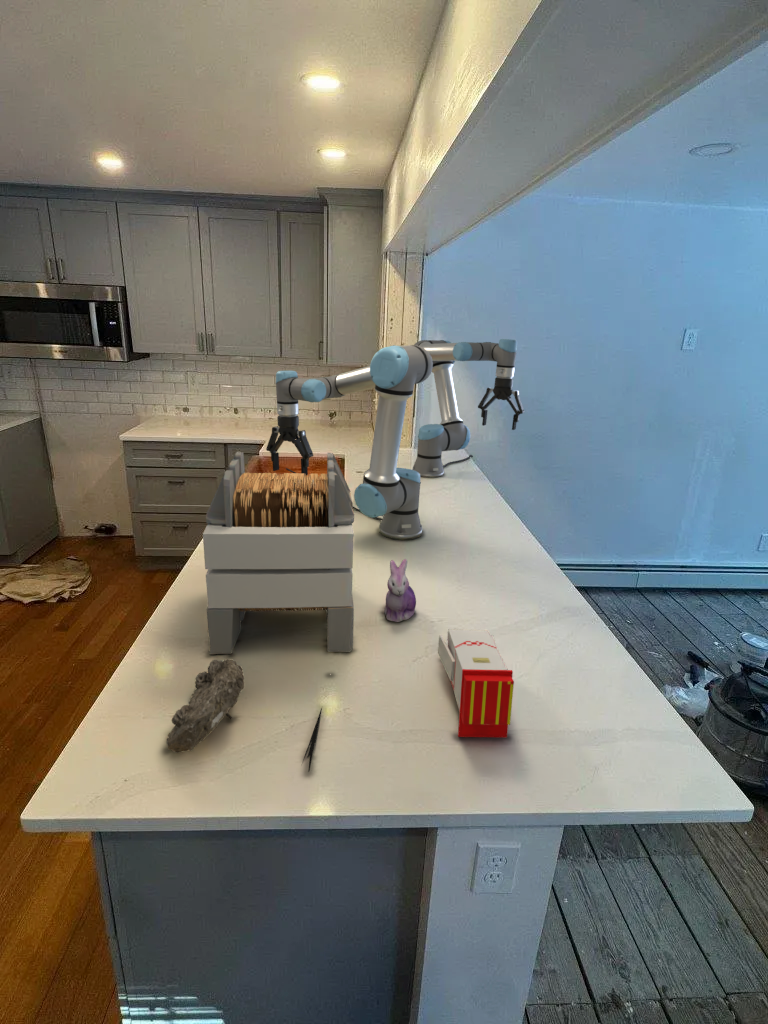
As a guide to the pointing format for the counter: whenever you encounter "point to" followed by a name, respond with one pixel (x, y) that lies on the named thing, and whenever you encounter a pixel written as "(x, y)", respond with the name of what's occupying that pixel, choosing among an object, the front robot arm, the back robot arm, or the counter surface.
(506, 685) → the toy
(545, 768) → the counter surface
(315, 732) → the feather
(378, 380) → the front robot arm
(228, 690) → the fossil
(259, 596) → the record crate stand
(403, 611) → the figurine
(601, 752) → the counter surface
